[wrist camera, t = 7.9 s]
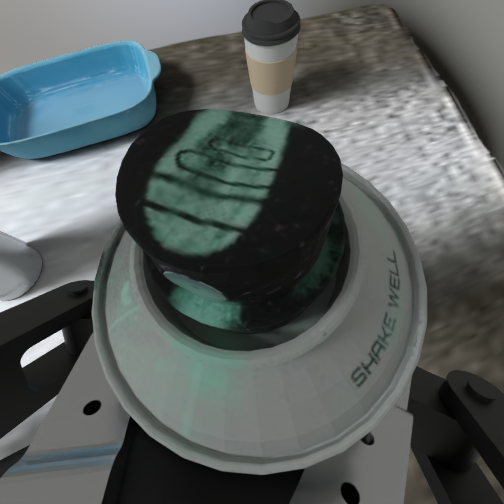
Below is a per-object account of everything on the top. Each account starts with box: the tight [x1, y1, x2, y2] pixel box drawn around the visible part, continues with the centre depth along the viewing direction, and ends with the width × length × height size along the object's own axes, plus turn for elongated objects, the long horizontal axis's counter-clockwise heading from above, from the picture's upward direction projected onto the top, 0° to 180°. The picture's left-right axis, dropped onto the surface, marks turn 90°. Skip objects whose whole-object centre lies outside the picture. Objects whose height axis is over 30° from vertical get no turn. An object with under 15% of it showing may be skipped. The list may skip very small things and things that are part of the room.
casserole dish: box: [0, 41, 161, 159], centre depth 51 cm, size 37×22×7 cm, turn 108°
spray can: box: [92, 109, 427, 475], centre depth 11 cm, size 6×6×20 cm
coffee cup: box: [242, 0, 300, 114], centre depth 44 cm, size 9×9×15 cm
